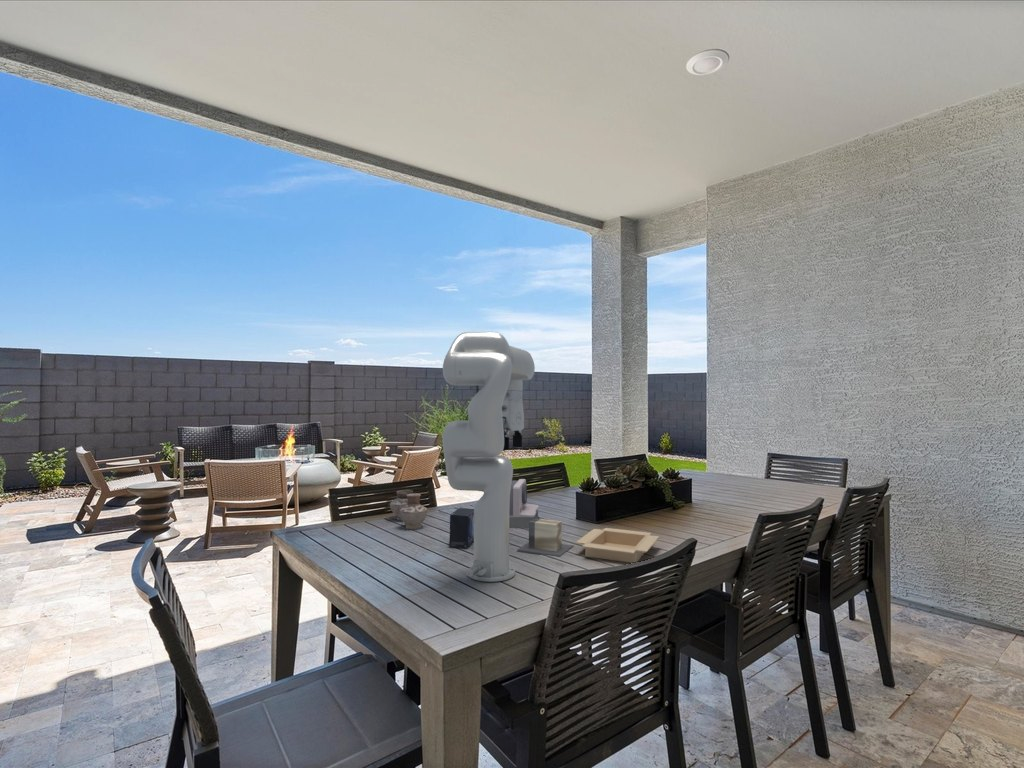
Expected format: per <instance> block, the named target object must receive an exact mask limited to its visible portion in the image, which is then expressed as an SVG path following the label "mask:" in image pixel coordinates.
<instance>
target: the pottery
mask: <svg viewBox="0 0 1024 768" xmlns="http://www.w3.org/2000/svg"><path fill="white" fill-rule="evenodd" d="M421 496H422V495H421V494H420V493H414V491H413V490H411V489H403V490H402V489H401V490H397V491H396V498H394V499H393V500H392V501H390V502H389V506H390V510H391V512H392V513H393V514H394V515H395V516H396V520H397V521H398V522H399V521H400V522H403V523H404V524H405V529H406V530H420V529H421V528H422V523H423V522H424V521H425V520H426V517H427V514H428V508H427V507H425V506H424V505H422V504H421V503H420V500H421Z"/></svg>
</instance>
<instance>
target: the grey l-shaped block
mask: <svg viewBox="0 0 1024 768" xmlns="http://www.w3.org/2000/svg"><path fill="white" fill-rule="evenodd" d="M527 500H528V484H527V480H526V479H525V478H519V479H518V480H514V479H512V483H511V489H510V504H509V529H529V521H531V520H533V519H535V518H536V519H539V508H540V506H539V505H538V504H532V503H527V502H528V501H527Z"/></svg>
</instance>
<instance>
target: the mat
mask: <svg viewBox="0 0 1024 768" xmlns="http://www.w3.org/2000/svg"><path fill="white" fill-rule="evenodd" d="M574 547H575V546H574V545H572V544H565V543H562V548H560V549H559V550H557V551H549V550H541V549H534V548H529V542H527V543H525V544H524V545H522V546H520V547H519V548H517V549H516V552H518V553H525V554H531V555H538V556H541V555H545V556H551V557H552V556H553V557H558V558H560V557H562V556H563V555H564V554H566V553H568V551H569V550H571V549H572V548H574Z"/></svg>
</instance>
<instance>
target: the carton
mask: <svg viewBox="0 0 1024 768" xmlns="http://www.w3.org/2000/svg"><path fill="white" fill-rule="evenodd" d="M659 538H660V536H658V535H652V532H646V531H637V530H631V529H630V530H628V529H621V528H620V529H619V528H612V527H609V528H608V527H605V528H603V529H599V528H593V529H592V530H590V531H589V532H587V533H586V534H585V535H583V536H582V537H580V538H579V539H577V541H575V544H579V545H582V546H581V548H584V549H585V550H584V555H585V557H590V558H596V559H605V560H610V561H616V562H617V561H618V562H625V563H632V562H637V561H638V562H639V560H640V559H641V558H642V557H643V555H644V554H645V553H648V551H649V550H650V549H651V548H652V547H653V545H654V544H655V543H656V541H658V539H659ZM641 556H642V557H641ZM638 562H637V563H638ZM632 564H633V563H632Z"/></svg>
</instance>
